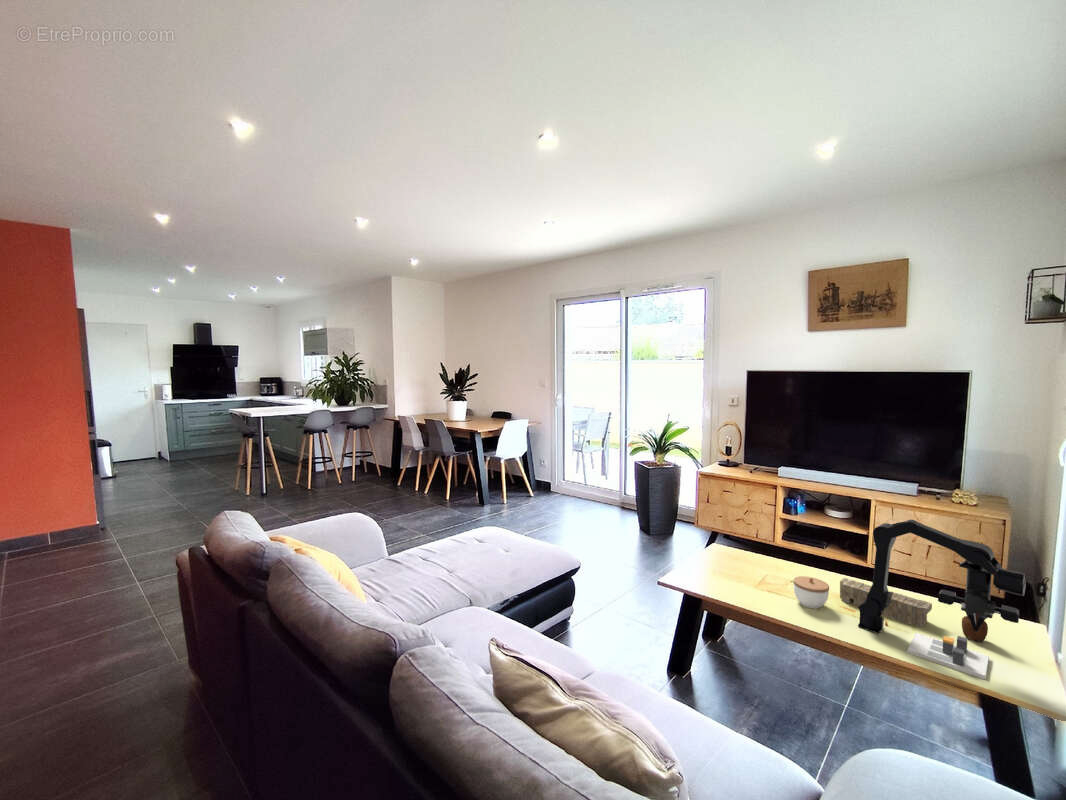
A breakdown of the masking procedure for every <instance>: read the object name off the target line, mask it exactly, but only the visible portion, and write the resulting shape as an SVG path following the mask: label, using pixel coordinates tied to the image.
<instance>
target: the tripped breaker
mask: <svg viewBox="0 0 1066 800" xmlns="http://www.w3.org/2000/svg"><path fill="white" fill-rule="evenodd" d="M942 641H943V652H944V653H947V654H950V655H952V654H953V646H954V645H955V644H954V643H955V638H954V637H953V638H952V637H950V636H946V635H944V636H943V638H942Z"/></svg>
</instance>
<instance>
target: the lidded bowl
mask: <svg viewBox="0 0 1066 800" xmlns="http://www.w3.org/2000/svg"><path fill="white" fill-rule="evenodd" d="M829 591H830V585H829V584H828V583H827V582H826V581H823V580H822V579H819V578H816V577H812V576H806V575H805V576H802V575H801V576H795V577H794V578H793V593H794V595H795V597H796V599H797V600H798V601H799V602H800V604H801V605H802V606H804V607H806V608H808V609H809V608H810V609H815V610H817V609H820V608H821V607H823V606H825V604H826V603H827V601H828V598H829V593H830V592H829Z"/></svg>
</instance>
